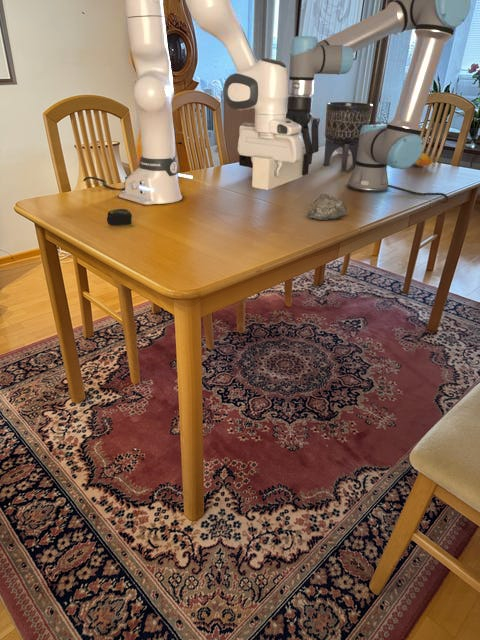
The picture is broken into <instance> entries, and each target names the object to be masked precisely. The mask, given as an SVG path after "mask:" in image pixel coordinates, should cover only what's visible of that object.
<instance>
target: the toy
mask: <svg viewBox="0 0 480 640" xmlns="http://www.w3.org/2000/svg"><path fill="white" fill-rule="evenodd" d="M433 163H434V159H433V158H432V157H429V156H428V154H427V153H424V152H422V154H421V156H420V158H419V159H418V160H417V162H416V163H415V164H414V165H415V166H417V167H422V168H423V167H426V166H430V165H432V164H433Z"/></svg>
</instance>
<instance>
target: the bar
mask: <svg viewBox="0 0 480 640" xmlns="http://www.w3.org/2000/svg"><path fill="white" fill-rule="evenodd" d="M304 154H306V149H305V146H302V157H301V159H300V160H299V161H298V162H296V163H290V162H285V165H284V167H283V168H282V170H281V176H279V177H278V176H274V170H276V169H277V168H278V167H279V165H278V161H277V160H274V159H273V158H270V157H263V156H254V157H253V168H252V179H251V182H252V183H251V187H252V188H255V189H260V190H265V191H269V190H272V189H274V188H277V187H279V186H282V185H284V184H288V183H290V182H293V181H295V180H297V179H300V178H303V177H305V176H304V175H302V172H303V161H304Z"/></svg>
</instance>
